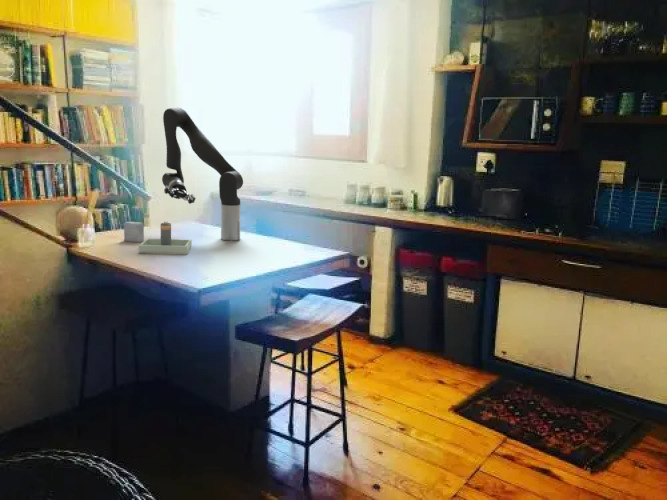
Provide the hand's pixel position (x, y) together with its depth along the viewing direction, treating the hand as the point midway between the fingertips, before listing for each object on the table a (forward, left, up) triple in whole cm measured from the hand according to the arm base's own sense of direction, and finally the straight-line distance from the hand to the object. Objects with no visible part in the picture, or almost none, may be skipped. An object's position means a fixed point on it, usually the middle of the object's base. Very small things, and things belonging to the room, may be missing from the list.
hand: (181, 198), depth 258 cm
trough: (+5, +15, -21) cm, 27 cm away
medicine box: (+23, -4, -21) cm, 31 cm away
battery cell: (+5, +15, -20) cm, 26 cm away
